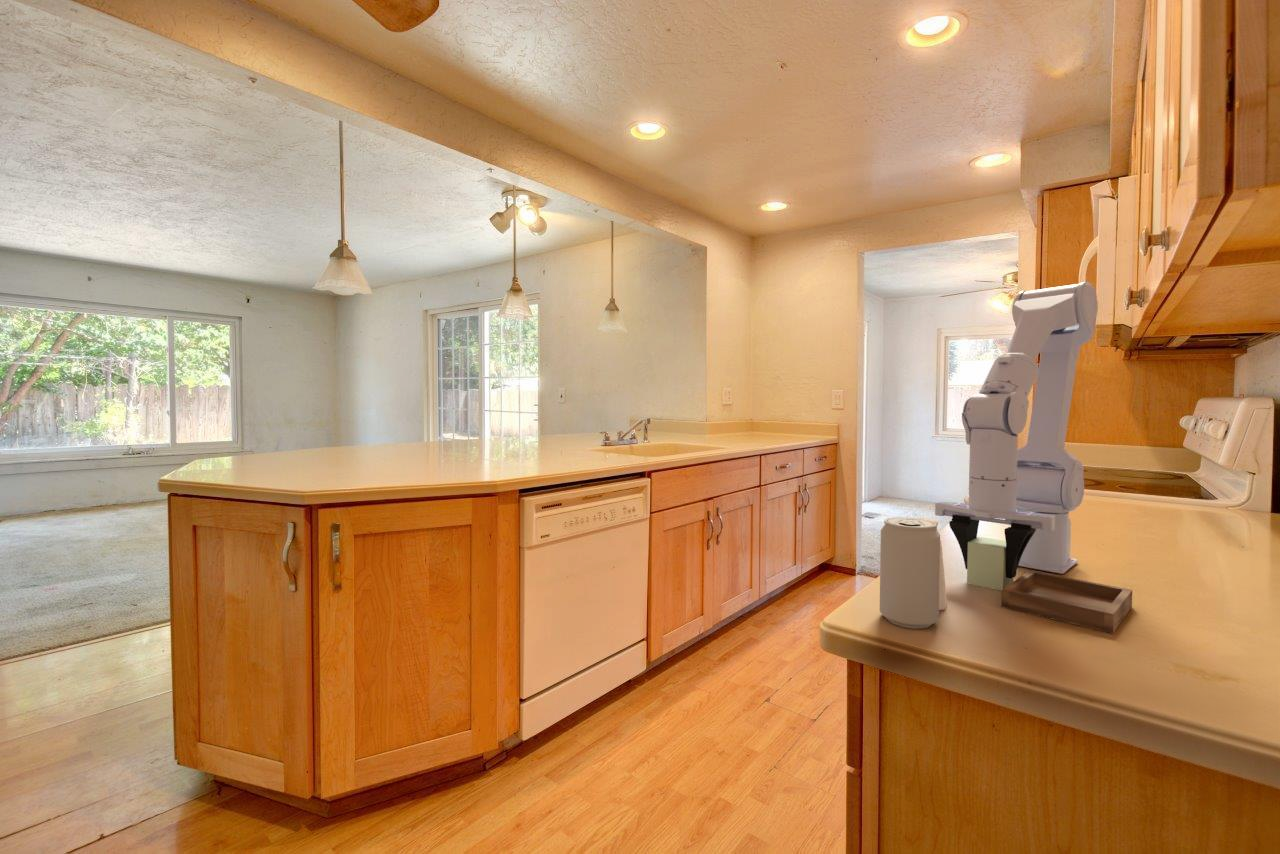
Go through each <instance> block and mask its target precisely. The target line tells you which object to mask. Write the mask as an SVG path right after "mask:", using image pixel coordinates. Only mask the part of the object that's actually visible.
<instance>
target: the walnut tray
mask: <svg viewBox="0 0 1280 854" xmlns="http://www.w3.org/2000/svg"><path fill="white" fill-rule="evenodd" d="M1000 596H1001V599H1000V601H1001V603H1000V604H1001V605H1000V607H1001V608H1005V609H1008V610H1009V609H1010V610H1013V611H1017V612H1021V613H1025V614H1029V613H1030V614H1029V615H1034V614H1035V615H1034V616H1038V615H1039V616H1038V617H1042V616H1043V618H1046V617H1047V619H1051V620H1055V621H1059V622H1064V623H1068V624H1071V625H1076V626H1081V627H1083V628H1089V629H1093V630H1097V631H1102V632H1105V633H1110V634H1114V633H1115V631H1116V630H1117V628H1119V625H1120V624H1121V623H1122V622H1123V620H1124V619H1125V617H1126V616H1127V614H1128V613H1129V611H1130V610H1131V608H1132V607H1133V589H1131V588H1125V587H1120V586H1114V585H1110V584H1104V583H1098V582H1093V581H1087V580H1082V579H1081V580H1080V579H1078V578H1074V577H1073V578H1072V577H1067V576H1062V575H1055V574H1051V573H1045V572H1041V571H1034V570H1027V571H1026V572H1025V573H1023V574H1022V575H1020V576H1019V577H1017V578H1016V579H1015V580H1013V582H1012V583H1011V584H1009V585H1008V586H1006V587H1005V588H1003V589H1002V591H1001V595H1000Z"/></svg>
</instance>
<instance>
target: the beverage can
mask: <svg viewBox="0 0 1280 854" xmlns="http://www.w3.org/2000/svg"><path fill="white" fill-rule="evenodd" d="M917 518H918V517H917ZM917 518H914V517H901V516H900V517H897V516H896V517H887V518H885V519H884V521H883V523H884V525H883V526H882V528H881V529H880V555H879V556H880V558H879V560H880V561H879V562H880V563H879V565H880V566H879V612H880V614H881V615H882V616H883V617H884V618H886V620H887V621H888V622H890V623H892V625H896V626H898V627H903V628H907V629H920V630H921V629H926V628H929V627H930V626H932V625H934V624H936V623H937V622H938V621H939V616H940V615H939V613H940V610H939V572H940V540H941V534H940V533H939V530H938V529H937V530H936V527H937V528H938V526H937V524H936V523H934V522H932V521H928V520H923V519H917Z"/></svg>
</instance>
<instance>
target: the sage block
mask: <svg viewBox="0 0 1280 854" xmlns="http://www.w3.org/2000/svg"><path fill="white" fill-rule="evenodd" d="M1006 558H1007V551H1006V540H1001V539H994V538H989V537H983V536H977V538H975V539H973V540H971V541H969V542H968V558H967V569H966V570H967V573H966V574H967V575H966V584H969V585H973V586H978V587H982V588H986V589H991V590H995V591H1001V592H1002V589H1003V588H1005V587H1006V586H1008V585H1009V584H1011V583H1012V582H1013V581H1014V577H1013V578H1006Z"/></svg>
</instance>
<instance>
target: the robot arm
mask: <svg viewBox="0 0 1280 854" xmlns="http://www.w3.org/2000/svg"><path fill="white" fill-rule="evenodd" d="M1016 294H1017V295H1016V296H1015V297H1014V298H1013V302H1012V307H1011V315H1012V319H1013V322H1014V325H1015V330H1014V332H1013V334H1012V337H1011V342H1010V344H1009V346H1008V350H1007V353H1004V354H1002V355H999V356H997V358H995V360H994V361H993V363H992V365H991V367H990V370H989V371H988V373H987V375H986V378H985V380H984V381H983V384H982V386H981V388H980V389H979V392H978V393H975V394H973V395H972V396H969V397H968V398H967V399H966V400H965V402H964V404H963V408H962V412H961V421H962V425H963V428H964V431H965V442H966V444H967V445H969V461H968V462H969V464H968V465H969V473H968V476H969V477H968V502H966V503H965V502H951V501H941V500H940V501H936V502H935V503H934V505H935V506H934V507H935V508H934V509H935V511H934V514H935V516H938V517H952V518H951V521H949V523H948V524H949V528H950V530H951V531H952V532H953V535H954V537H955V538H956V541H957V543H958V545H959V548H960V551H961V555H962V558H963V561H964V568H965V570H967V558H968V542H969V541H971V540H973V539H975V538H977V537H978V531H979V524H980V521H981V522H987V523H988V522H989V523H995V524H1001V525H1008V527H1006V528H1004V538H1005V539H1004V540H1005V541H1006V551H1007V558H1006V578H1013V579H1014V578H1015V577H1016V576H1017V572H1018V567H1023V568H1028V569H1035V570H1039V571H1044V572H1049V573H1050V572H1051V573H1055V574H1061V575H1062V574H1065V573H1066V572H1067V571H1068V570H1070V569H1071V568H1072V567H1073V566H1074V565H1076V564H1077V563H1078V559H1077V558H1074V557H1071V540H1072V539H1071V538H1072V535H1071V534H1072V525H1071V524H1072V523H1071V519H1070V515H1069V514H1070V512H1072V511H1074V510H1076V509H1077V508H1079V506H1080V505H1081V504H1082V503H1083V499H1084V494H1085V480H1084V474H1085V473H1084V472H1085V471H1084V469H1085V468H1084V465H1083V463H1082V462H1081V461H1080V460H1079V458H1077V457H1076V456H1074V455H1073V454H1072V453H1070V452H1069V451H1068V450H1066V449H1065V444H1066V438H1067V437H1066V436H1067V432H1068V423H1069V420H1070V419H1069V418H1070V411H1071V410H1070V409H1071V403H1072V397H1073V390H1074V383H1075V379H1076V378H1075V377H1076V370H1077V364H1078V359H1079V358H1078V357H1079V354H1080V349H1081V346H1083V345H1085V344H1086V343H1088V342H1090V341H1092V340H1093V337H1094V332H1095V329H1096V324H1097V323H1096V322H1097V317H1098V309H1099V303H1098V296H1097V295H1098V294H1097V291H1096V289H1095V287H1094V285H1092V284H1091V283H1090V282H1089V281H1083V282H1080V283H1073V284H1069V285H1062V286H1061V285H1060V286H1055V287H1054V286H1052V287H1047V288H1041V289H1034V290H1020V291H1019V292H1018V293H1016ZM1039 354H1040V357H1039V363H1038V364H1037V362H1036V359H1037V357H1038V356H1039ZM1035 381H1036V382H1035ZM1035 383H1036V384H1035ZM1034 384H1035V387H1034V388H1035V390H1034V395H1033V402H1032V408H1031V415H1030V422H1029V427H1028V428H1029V429H1028V434H1027V441H1026V443H1025V445H1023V446H1021V448H1019V449H1018V446H1019V445H1018V443H1019V442H1018V440H1019V439H1018V437H1019V434H1021V433H1022V432H1023V431H1024V429H1025V427H1026V425H1027V420H1028V410H1029V406H1030V405H1029V404H1030V401H1029V399H1028V396H1029V394H1030V393H1031V390H1032V388H1033V386H1034Z"/></svg>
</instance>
